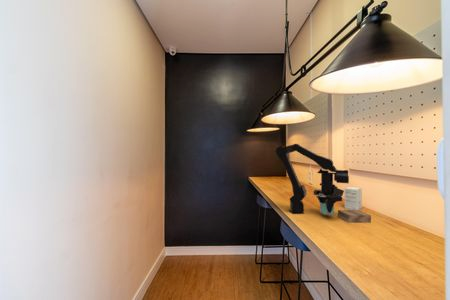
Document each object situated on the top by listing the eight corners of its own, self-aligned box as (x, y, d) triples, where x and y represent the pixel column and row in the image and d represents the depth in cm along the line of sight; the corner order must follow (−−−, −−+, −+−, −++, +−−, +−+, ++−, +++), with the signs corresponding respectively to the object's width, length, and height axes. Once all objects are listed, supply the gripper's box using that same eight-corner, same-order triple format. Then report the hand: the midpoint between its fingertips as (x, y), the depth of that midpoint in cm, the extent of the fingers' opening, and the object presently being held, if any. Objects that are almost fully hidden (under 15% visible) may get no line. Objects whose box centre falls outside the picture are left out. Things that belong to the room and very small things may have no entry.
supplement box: (349, 206, 142) (349, 186, 142) (362, 208, 136) (362, 188, 136) (344, 208, 137) (344, 187, 137) (357, 211, 131) (357, 189, 131)
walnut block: (348, 223, 109) (348, 215, 109) (337, 217, 119) (337, 209, 119) (370, 223, 110) (370, 215, 110) (358, 217, 120) (358, 209, 120)
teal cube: (324, 214, 117) (324, 205, 117) (320, 211, 122) (320, 202, 122) (334, 214, 117) (334, 204, 117) (328, 211, 122) (328, 202, 122)
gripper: (352, 184, 111) (352, 216, 111) (331, 179, 129) (331, 206, 129) (331, 184, 110) (330, 216, 110) (313, 179, 129) (313, 206, 129)
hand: (326, 211), depth 119 cm, fingers closed on teal cube, 5 cm apart
